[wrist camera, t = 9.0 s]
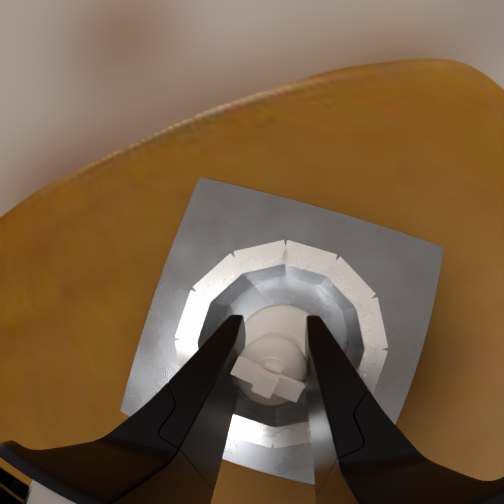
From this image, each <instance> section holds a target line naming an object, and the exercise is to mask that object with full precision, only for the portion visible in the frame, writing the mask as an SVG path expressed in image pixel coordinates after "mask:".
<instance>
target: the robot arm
mask: <svg viewBox="0 0 504 504" xmlns="http://www.w3.org/2000/svg"><path fill="white" fill-rule="evenodd" d="M245 341H246V331H245V323H244V317H243V315H236V314H232V315H230V316H229V317H228V318H227V319H226V320H225V321H224V322H223V323H222V324H221V325H220V326H219V328H218V329H217V330H216V331H215V332H214V333H213V334H212V335H211V336H210V337H209V338H208V339H207V341H206V342H205V343H204V344H203V345H202V346H201V347H200V348H199V349H198V350H197V351H196V352H195V353H194V355H193V356H192V357H191V358H190V359H189V360H188V361H187V362H186V363H185V364H184V365H183V366H182V367H181V368H180V370H179V371H178V372H177V373H176V374H175V375H174V376H173V377H172V378H171V379H170V380H169V381H168V383H166V384H165V385H164V386H163V387H162V388H161V389H160V391H158V392H157V393H156V394H155V395H154V396H153V397H152V398H151V399H150V400H149V401H148V402H147V403H146V404H145V405H144V406H142V407H141V408H140V409H139V410H138V411H137V412H135V413H134V414H133V415H132V416H130V417H129V418H128V419H127V420H125V421H124V422H123V423H122V424H120V425H119V426H118V427H117V428H115V429H114V430H113V431H112V432H110V433H109V434H107V435H106V436H104V437H102V438H100V439H98V440H95V441H92V442H87V443H82V444H77V445H71V446H65V447H59V448H53V449H46V450H32V449H27V448H25V447H23V446H21V445H20V444H18V443H17V442H15V441H12V440H10V441H7V442H3V443H0V457H1V458H2V459H4V460H5V461H6V462H8V463H9V464H10V465H12V466H13V467H15V468H16V469H18V470H19V471H21V472H22V473H24V474H25V475H27V476H28V477H30V478H31V479H33V480H32V482H31V485H30V486H28V485H27V484H25V483H24V482H22V481H21V480H19V479H18V478H16V477H15V476H13V475H12V474H10V473H9V472H7V471H6V470H4V469H3V468H1V467H0V504H211V500H212V496H213V492H214V488H215V485H216V481H217V477H218V473H219V469H220V465H221V461H222V457H223V453H224V449H225V445H226V441H227V437H228V433H229V429H230V425H231V421H232V417H233V413H234V409H235V405H236V401H237V397H238V393H239V388H240V387H239V385H238V382H237V379H236V376H234V375H232V374H230V373H231V371H232V369H233V367H234V365H235V363H236V361H237V358H238V357H239V355H240V353H241V352H242V351H243V349H244V348H245ZM305 359H306V361H307V366H308V375H307V380H306V383H305V389H306V398H307V406H308V416H309V425H310V435H311V445H312V456H313V467H314V479H315V491H316V496H317V497H316V504H504V477H502V478H500V479H497V480H494V481H482V480H478V479H475V478H472V477H469V476H466V475H464V474H461V473H459V472H456V471H454V470H451V469H449V468H446V467H444V466H441V465H439V464H436V463H434V462H432V461H430V460H429V459H427V458H426V457H424V456H423V455H422V454H421V453H420V452H419V451H418V450H417V449H416V448H415V447H414V446H413V445H412V444H411V442H410V441H409V440H408V439H407V438H406V437H405V436H404V434H403V433H402V432H401V431H400V430H399V429H398V428H397V426H396V425H395V424H394V423H393V422H392V420H391V419H390V418H389V417H388V416H387V414H386V413H385V412H384V411H383V409H382V408H381V406H380V405H379V404H378V402H377V401H376V399H375V398H374V396H373V395H372V393H371V392H370V390H368V387H367V386H366V384H365V383H364V381H363V380H362V378H361V377H360V375H359V374H358V372H357V371H356V369H355V368H354V366H353V365H352V363H351V362H350V360H349V359H348V357H347V356H346V354H345V353H344V351H343V350H342V348H341V347H340V345H339V344H338V342H337V341H336V339H335V338H334V336H333V335H332V333H331V332H330V330H329V329H328V327H327V326H326V324H325V323H324V321H323V320H322V319H321V317H320V316H318V315H308V316H307V317H306V328H305Z"/></svg>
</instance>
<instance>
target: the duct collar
mask: <svg viewBox="0 0 504 504" xmlns="http://www.w3.org/2000/svg"><path fill="white" fill-rule="evenodd" d="M443 249H444V247H442V246H439V245H436V244H433V243H431V242H428V241H425V240H422V239H419V238H416V237H413V236H410V235H407V234H404V233H401V232H398V231H395V230H392V229H389V228H386V227H383V226H380V225H377V224H374V223H370V222H367V221H364V220H361V219H358V218H354V217H351V216H348V215H344V214H341V213H338V212H334V211H331V210H327V209H324V208H320V207H317V206H313V205H310V204H306V203H302V202H299V201H295V200H291V199H288V198H284V197H280V196H276V195H273V194H269V193H265V192H261V191H257V190H253V189H249V188H245V187H241V186H236V185H232V184H228V183H224V182H219V181H215V180H211V179H206V178H202V177H200V178H199V180H198V182H197V185H196V187H195V189H194V192H193V194H192V197H191V199H190V202H189V204H188V206H187V209H186V211H185V214H184V216H183V219H182V221H181V224H180V227H179V229H178V232H177V234H176V237H175V240H174V242H173V245H172V247H171V250H170V253H169V256H168V258H167V261H166V264H165V266H164V269H163V272H162V275H161V278H160V281H159V283H158V286H157V289H156V292H155V295H154V298H153V301H152V304H151V307H150V310H149V313H148V316H147V319H146V322H145V326H144V329H143V332H142V335H141V338H140V342H139V345H138V348H137V352H136V355H135V359H134V362H133V365H132V369H131V373H130V376H129V380H128V383H127V387H126V391H125V395H124V399H123V403H122V406H121V410H120V411H122V412H123V413H125V414H127V415H129V416H132V415H133V414H134V413H135V412H137V411H138V410H139V409H140V408H141V407H142V406H144V405H145V404H146V403H147V402H148V401H149V400H150V399H151V398H152V397H153V396H154V395H155V394H156V393H157V392H158V391H160V389H161V388H162V387H163V386H164V385H165V384H166V383H168V381H169V380H170V379H171V378H172V377H173V376H174V375H175V374H176V373H177V372H178V371H179V370H180V368H181V367H182V366H183V365H184V364H185V363H186V362H187V361H188V360H189V359H190V358H191V357H192V356H193V355H194V353H195V352H196V351H197V350H198V349H199V348H200V347H201V346H202V345H203V344H204V343H205V342H206V341H207V339H208V338H209V337H210V336H211V335H212V334H213V333H214V332H215V331H216V330H217V329H218V328H219V326H220V325H221V324H222V323H223V322H224V321H225V320H226V319H227V318H228V317H229V316H230V315H232V314H236V315H243V317H244V323H245V321H246V320H247V319H248V318H249V317H250V316H251V315H252V314H254V313H255V312H257V311H258V310H260V309H262V308H264V307H267V306H271V305H276V304H288V305H293V306H297V307H299V308H302V309H304V310H305V311H307V312H309V313H310V314H311V315H318V316H320V317H321V319H322V320H323V321H324V323H325V324H326V326H327V327H328V329H329V330H330V332H331V333H332V335H333V336H334V338H335V339H336V341H337V342H338V344H339V345H340V347H341V348H342V350H343V351H344V353H345V354H346V356H347V357H348V359H349V360H350V362H351V363H352V365H353V366H354V368H355V369H356V371H357V372H358V374H359V375H360V377H361V378H362V380H363V381H364V383H365V384H366V386H367V387H368V390H370V392H371V393H372V395H373V396H374V398H375V399H376V401H377V402H378V404H379V405H380V406H381V408H382V409H383V411H384V412H385V413H386V414H387V416H388V417H389V418H390V419H391V420H392V422H393V423H394V424H396V422H397V420H398V417H399V415H400V412H401V410H402V407H403V405H404V402H405V399H406V397H407V394H408V391H409V389H410V386H411V383H412V380H413V377H414V374H415V371H416V368H417V365H418V362H419V358H420V355H421V352H422V348H423V345H424V341H425V337H426V334H427V330H428V326H429V322H430V318H431V314H432V309H433V305H434V300H435V295H436V290H437V285H438V280H439V274H440V268H441V262H442V256H443ZM222 459H225V460H228V461H230V462H233V463H236V464H239V465H242V466H245V467H248V468H251V469H255V470H258V471H261V472H265V473H268V474H272V475H275V476H279V477H283V478H287V479H291V480H295V481H299V482H303V483H308V484H313V485H315V479H314V467H313V456H312V445H311V435H310V425H309V416H308V406H307V398H306V389H305V388H304V389H303V390H302V392H301V394H300V396H299V398H298V400H297V402H296V403H295V402H293V401H288V402H286V403H283V404H279V405H264V404H260V403H257V402H255V401H253V400H251V399H250V398H249V397H247V396H246V395H245V394H244V393H243V391H242V390H241V388H239V393H238V397H237V401H236V405H235V409H234V413H233V417H232V421H231V425H230V429H229V433H228V437H227V441H226V445H225V449H224V453H223V457H222Z"/></svg>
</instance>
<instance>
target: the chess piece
mask: <svg viewBox="0 0 504 504" xmlns="http://www.w3.org/2000/svg"><path fill="white" fill-rule="evenodd" d="M308 315H311V314H310V313H309V312H307V311H305V310H304V309H302V308H299V307H297V306H293V305H288V304H276V305H271V306H267V307H264V308H262V309H260V310H258V311H257V312H255V313H254V314H252V315H251V316H250V317H249V318H248V319H247V320H246V321H245V331H246V341H245V348H244V349H243V351H242V352H241V353H240V355H239V357H238V358H237V361H236V363H235V365H234V367H233V369H232V371H231V373H230V374H232V375H234V376H236V379H237V382H238V385H239V387H240V388H241V390H242V391H243V393H244V394H245V395H246V396H247V397H249V398H250V399H251V400H253V401H255V402H257V403H260V404H264V405H279V404H283V403H286V402H288V401H293V402H295V403H296V402H297V400H298V398H299V396H300V394H301V392H302V390H303V389H304V388H305V383H306V380H307V375H308V366H307V361H306V359H305V328H306V317H307V316H308Z"/></svg>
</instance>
